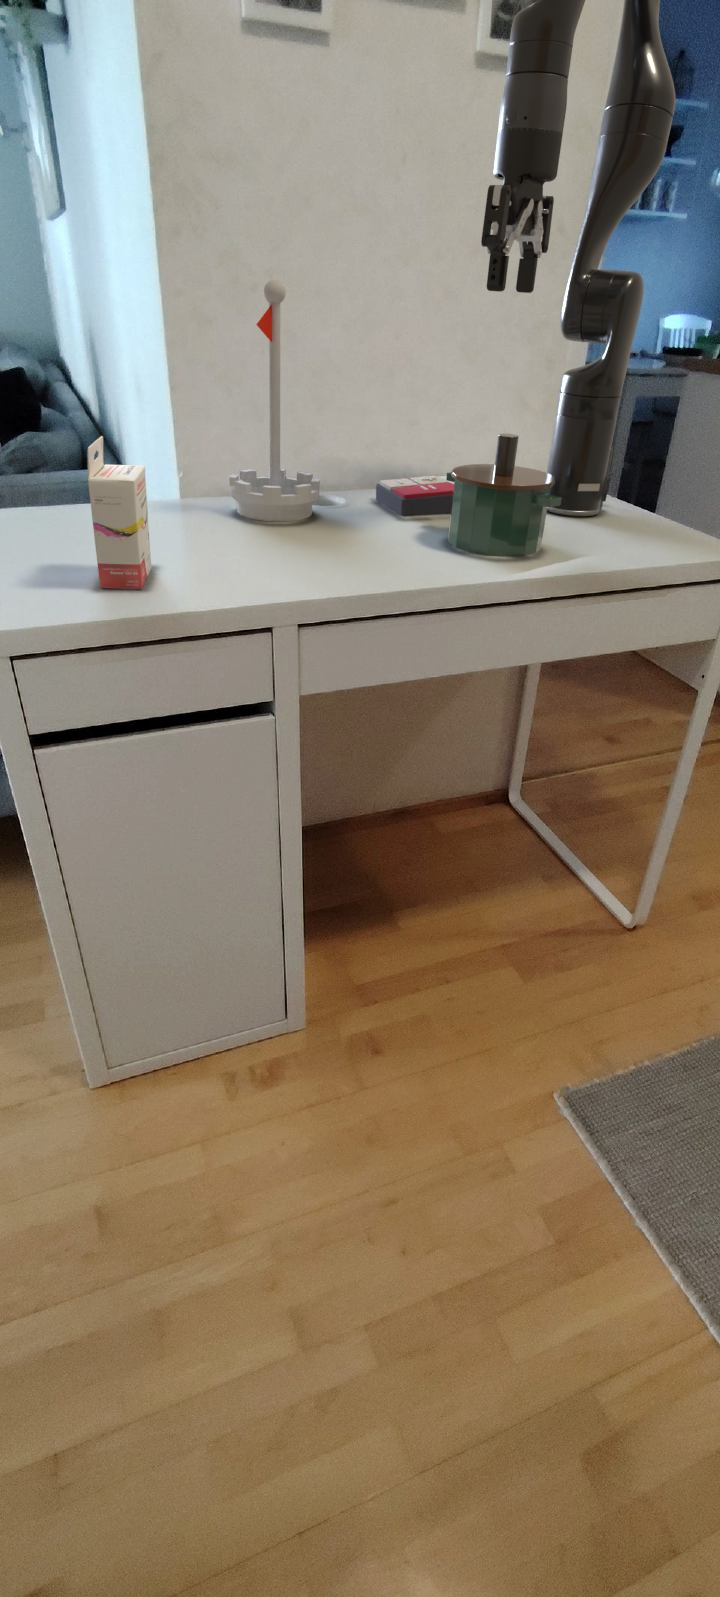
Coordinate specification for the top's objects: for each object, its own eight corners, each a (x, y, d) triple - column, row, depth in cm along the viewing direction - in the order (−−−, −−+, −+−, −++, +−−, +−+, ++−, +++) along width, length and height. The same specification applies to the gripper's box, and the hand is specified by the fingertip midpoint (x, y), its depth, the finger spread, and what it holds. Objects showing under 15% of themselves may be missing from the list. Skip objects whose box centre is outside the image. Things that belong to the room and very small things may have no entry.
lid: (496, 469, 120) (502, 424, 117) (574, 488, 111) (583, 440, 108) (429, 479, 112) (434, 430, 109) (508, 500, 104) (515, 448, 100)
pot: (475, 526, 125) (483, 462, 121) (574, 556, 114) (586, 487, 110) (415, 538, 118) (421, 470, 113) (514, 571, 107) (525, 498, 102)
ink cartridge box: (144, 590, 94) (132, 450, 86) (99, 589, 93) (82, 448, 86) (154, 567, 101) (143, 435, 93) (111, 566, 101) (97, 434, 93)
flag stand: (255, 500, 132) (252, 276, 116) (332, 512, 128) (339, 282, 112) (214, 518, 122) (204, 274, 106) (296, 531, 118) (298, 280, 102)
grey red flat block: (375, 478, 133) (460, 471, 138) (374, 506, 135) (458, 498, 140) (403, 494, 124) (492, 486, 129) (402, 524, 127) (490, 514, 131)
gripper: (535, 118, 91) (513, 293, 100) (583, 137, 101) (559, 294, 110) (473, 120, 94) (457, 289, 103) (526, 139, 105) (507, 291, 113)
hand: (510, 292), depth 106 cm, fingers open, 8 cm apart
